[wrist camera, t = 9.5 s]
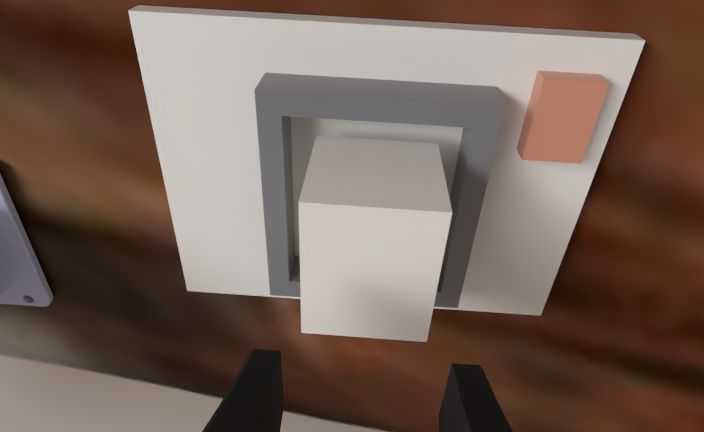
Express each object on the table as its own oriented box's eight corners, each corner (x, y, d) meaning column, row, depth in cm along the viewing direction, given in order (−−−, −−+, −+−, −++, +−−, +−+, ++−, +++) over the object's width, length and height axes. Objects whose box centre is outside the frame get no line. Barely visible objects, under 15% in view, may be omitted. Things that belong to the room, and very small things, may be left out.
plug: (319, 234, 20) (301, 332, 15) (320, 120, 17) (298, 202, 12) (417, 241, 20) (426, 342, 15) (434, 128, 17) (452, 212, 12)
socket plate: (192, 279, 23) (174, 317, 21) (138, 5, 16) (103, 23, 14) (535, 302, 22) (551, 343, 20) (634, 33, 15) (671, 56, 13)
